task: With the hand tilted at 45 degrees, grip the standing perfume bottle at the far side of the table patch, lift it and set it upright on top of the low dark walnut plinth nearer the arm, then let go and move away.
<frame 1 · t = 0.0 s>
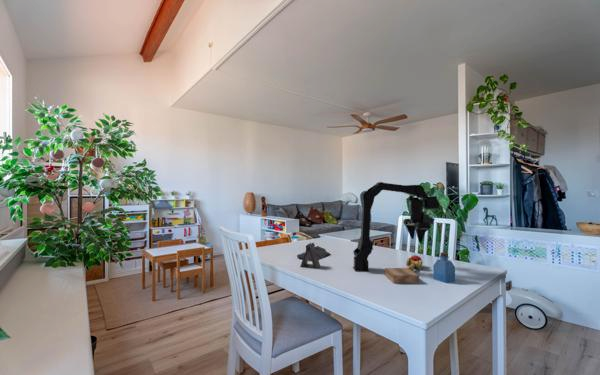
hand: (416, 240, 142), 15 cm above the table, tool pointing down, fingers open, 9 cm apart
kendama: (413, 270, 142), on the table
phone stand: (310, 266, 148), on the table
walnut plinth: (401, 279, 127), on the table
perfume bottle: (444, 280, 127), on the table
stegosaurus figurine: (313, 257, 170), on the table
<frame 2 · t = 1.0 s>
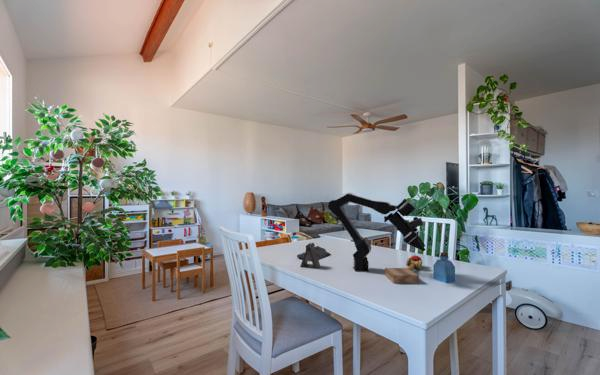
hand: (424, 248, 130), 13 cm above the table, tool tilted 45°, fingers open, 9 cm apart
nothing on the table moved.
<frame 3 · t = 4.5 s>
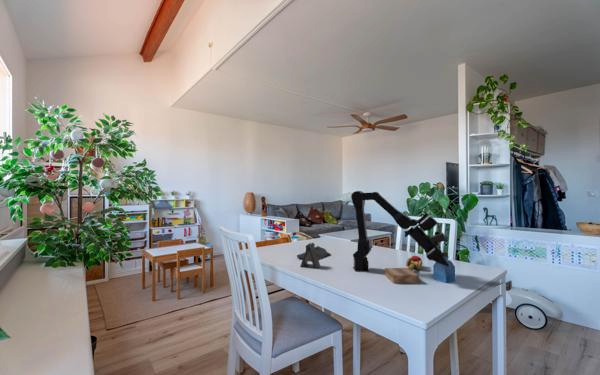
hand: (447, 264, 126), 7 cm above the table, tool tilted 45°, fingers closed on perfume bottle, 5 cm apart
perfume bottle: (444, 280, 127), on the table, touching gripper
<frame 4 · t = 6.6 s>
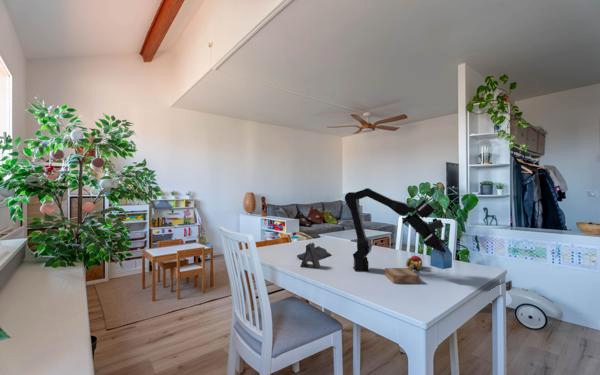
hand: (444, 251, 126), 13 cm above the table, tool tilted 45°, fingers closed on perfume bottle, 5 cm apart
perfume bottle: (441, 266, 127), point 6 cm above the table, touching gripper
when the fingers open (11 cm above the table, at t = 9.2 s): perfume bottle stays where it is, resting on walnut plinth.
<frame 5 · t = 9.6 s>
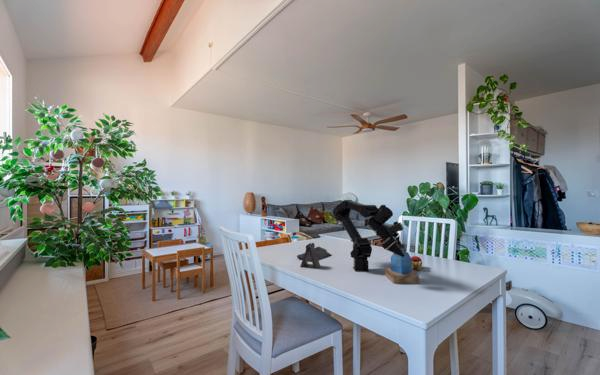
hand: (404, 254, 127), 12 cm above the table, tool tilted 45°, fingers open, 9 cm apart
perfume bottle: (401, 271, 128), point 3 cm above the table, touching walnut plinth
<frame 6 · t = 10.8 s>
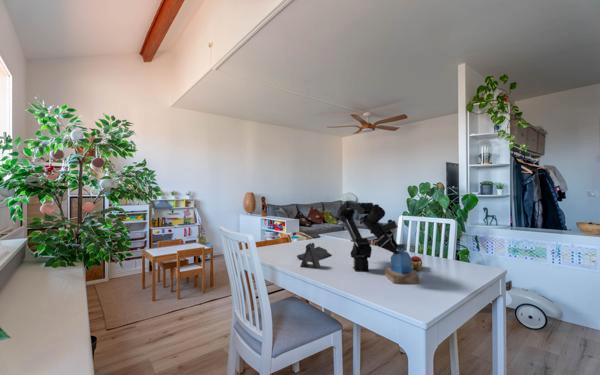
hand: (398, 251, 128), 12 cm above the table, tool tilted 45°, fingers open, 9 cm apart
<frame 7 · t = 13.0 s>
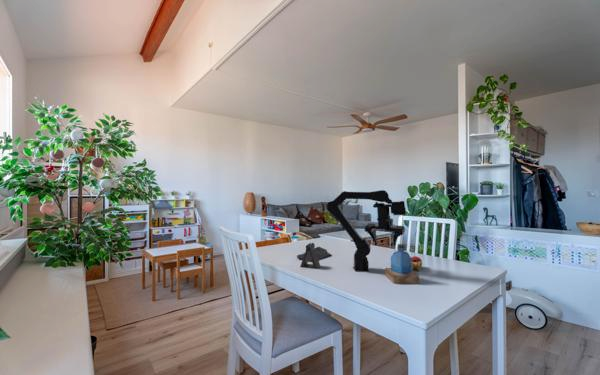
hand: (385, 245, 142), 12 cm above the table, tool pointing down, fingers open, 9 cm apart
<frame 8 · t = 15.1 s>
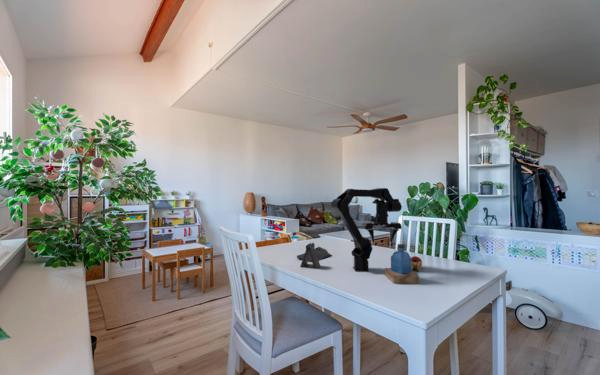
hand: (381, 242, 146), 13 cm above the table, tool pointing down, fingers open, 9 cm apart
at the end: perfume bottle inside the target area on the walnut plinth (0.3 cm from its centre), point 3.3 cm above the walnut plinth's base; perfume bottle tilted 0°; the gripper is holding nothing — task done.
